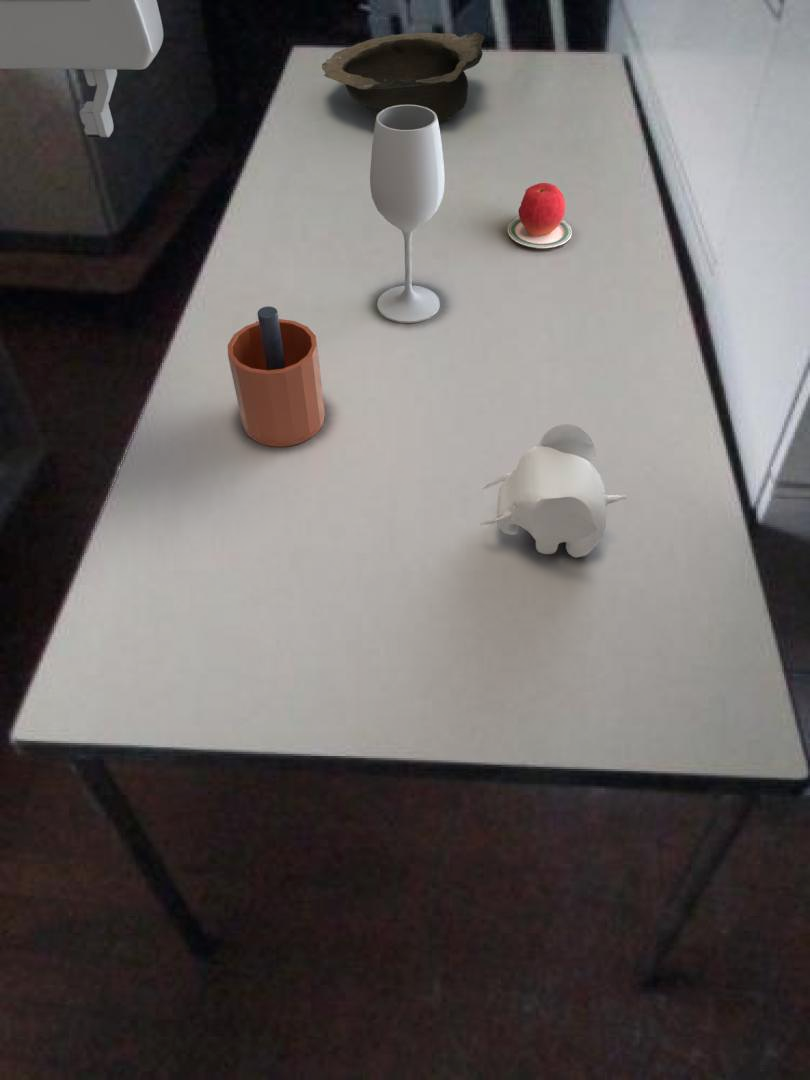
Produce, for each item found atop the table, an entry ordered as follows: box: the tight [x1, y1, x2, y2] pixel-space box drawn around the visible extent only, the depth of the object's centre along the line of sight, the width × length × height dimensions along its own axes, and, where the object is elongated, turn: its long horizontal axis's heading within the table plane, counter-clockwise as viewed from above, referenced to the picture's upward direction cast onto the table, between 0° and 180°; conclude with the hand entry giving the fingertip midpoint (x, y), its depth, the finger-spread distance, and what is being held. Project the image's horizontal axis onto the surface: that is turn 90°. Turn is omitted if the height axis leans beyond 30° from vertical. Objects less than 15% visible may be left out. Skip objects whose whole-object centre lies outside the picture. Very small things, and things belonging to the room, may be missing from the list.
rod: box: [256, 306, 286, 370], centre depth 81 cm, size 2×2×12 cm
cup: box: [227, 318, 326, 448], centre depth 82 cm, size 8×8×9 cm
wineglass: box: [369, 105, 445, 324], centre depth 90 cm, size 8×8×21 cm
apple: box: [507, 182, 573, 249], centre depth 105 cm, size 8×8×6 cm
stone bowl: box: [321, 31, 486, 123], centre depth 130 cm, size 25×25×9 cm
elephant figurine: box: [479, 423, 627, 558], centre depth 72 cm, size 10×12×9 cm
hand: (33, 133), depth 59 cm, fingers open, 8 cm apart
